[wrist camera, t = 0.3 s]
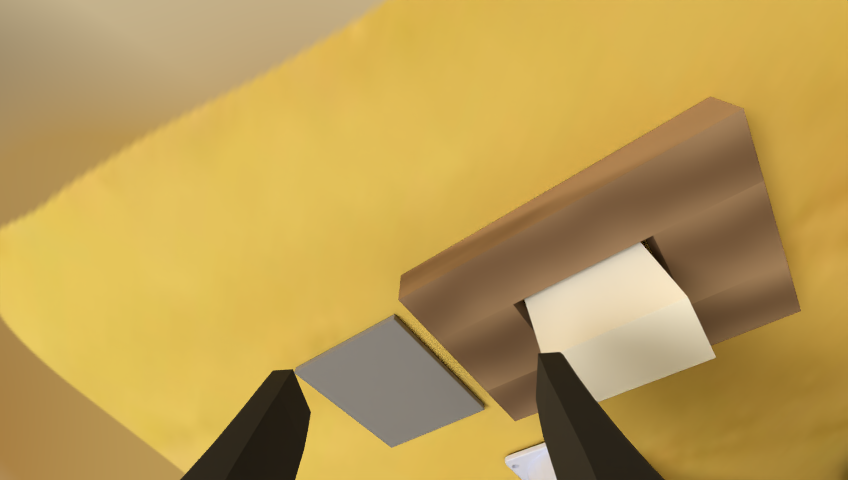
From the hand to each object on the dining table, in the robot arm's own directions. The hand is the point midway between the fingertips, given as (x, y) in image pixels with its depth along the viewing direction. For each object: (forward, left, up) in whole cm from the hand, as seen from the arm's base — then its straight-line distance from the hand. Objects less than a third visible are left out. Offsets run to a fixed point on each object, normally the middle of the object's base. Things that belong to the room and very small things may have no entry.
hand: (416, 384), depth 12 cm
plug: (-8, -5, -10) cm, 13 cm away
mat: (-9, +9, -9) cm, 15 cm away
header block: (-8, -5, -9) cm, 13 cm away
